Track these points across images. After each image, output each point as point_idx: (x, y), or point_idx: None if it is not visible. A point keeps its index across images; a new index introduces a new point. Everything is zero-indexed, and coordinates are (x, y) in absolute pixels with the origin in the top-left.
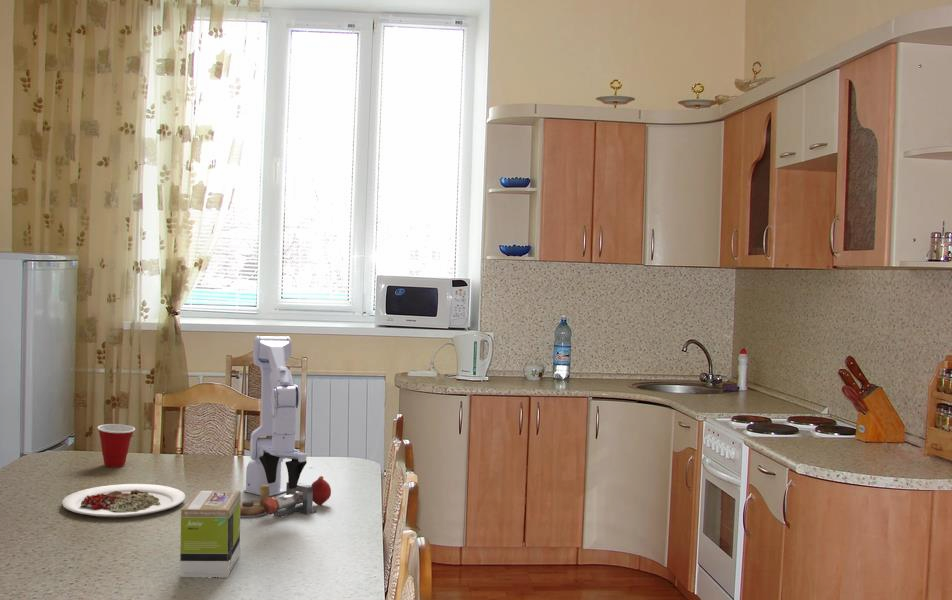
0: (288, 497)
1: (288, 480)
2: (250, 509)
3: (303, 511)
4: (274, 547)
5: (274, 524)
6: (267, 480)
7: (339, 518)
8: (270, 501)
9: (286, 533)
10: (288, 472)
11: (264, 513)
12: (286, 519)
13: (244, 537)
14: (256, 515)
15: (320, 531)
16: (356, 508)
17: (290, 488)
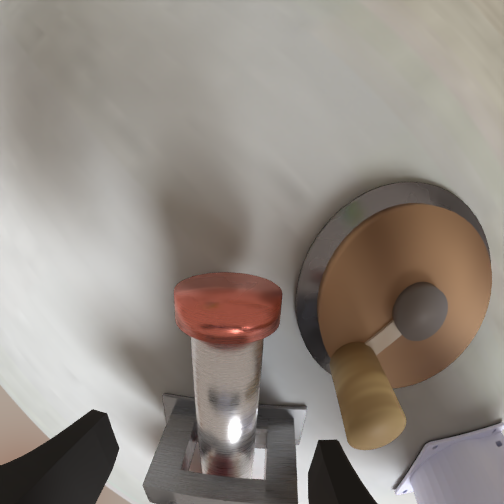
0: (204, 416)
1: (72, 444)
2: (359, 257)
3: (191, 410)
4: (10, 44)
5: (154, 216)
6: (338, 453)
7: (73, 402)
8: (213, 302)
9: (45, 159)
10: (26, 482)
11: (308, 308)
12: (172, 309)
13: (133, 8)
14: (317, 259)
15: (4, 261)
16: (128, 479)
17: (92, 409)
